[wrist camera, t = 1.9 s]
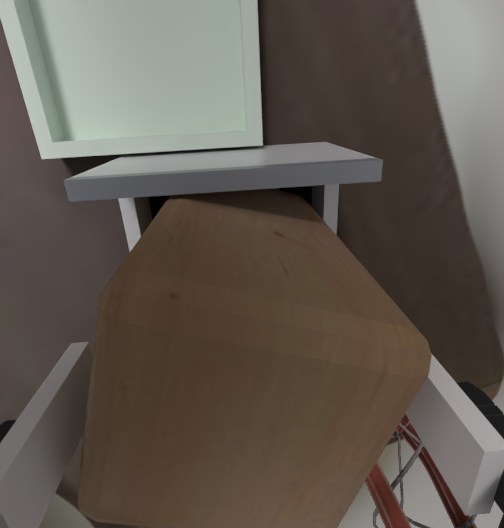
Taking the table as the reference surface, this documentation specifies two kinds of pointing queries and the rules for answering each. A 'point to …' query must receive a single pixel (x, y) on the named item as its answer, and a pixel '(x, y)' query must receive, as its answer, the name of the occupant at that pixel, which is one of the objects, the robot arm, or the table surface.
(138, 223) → the dock
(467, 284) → the table surface
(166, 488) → the wooden block
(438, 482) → the lantern
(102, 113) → the tray
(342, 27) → the table surface
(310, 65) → the table surface
